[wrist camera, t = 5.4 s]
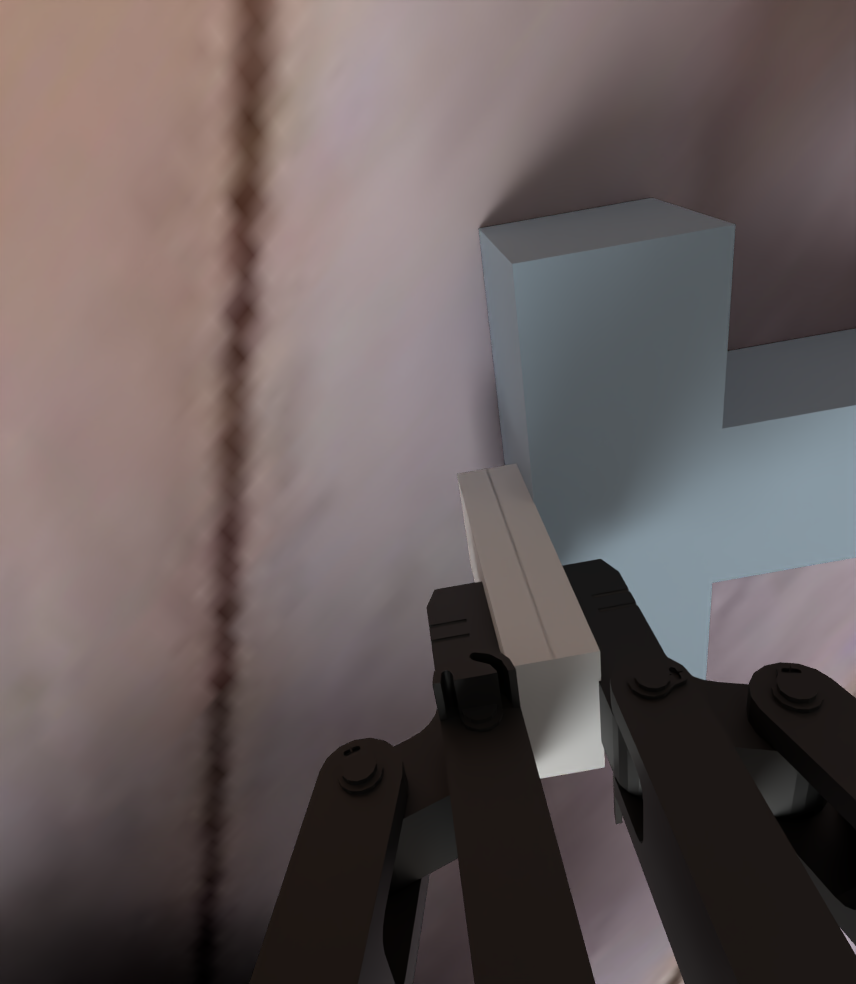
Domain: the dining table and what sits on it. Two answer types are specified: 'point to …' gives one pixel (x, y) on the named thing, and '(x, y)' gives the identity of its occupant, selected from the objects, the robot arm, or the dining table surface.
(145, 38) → the dining table surface
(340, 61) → the dining table surface
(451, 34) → the dining table surface
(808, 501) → the t block
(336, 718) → the dining table surface
